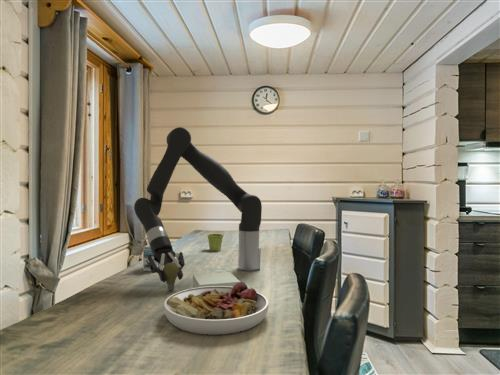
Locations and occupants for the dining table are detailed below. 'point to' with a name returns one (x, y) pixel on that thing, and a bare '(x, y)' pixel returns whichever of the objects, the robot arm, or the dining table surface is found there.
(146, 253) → the light bulb box
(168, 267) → the light bulb
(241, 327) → the bowl
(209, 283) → the block
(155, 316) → the dining table surface
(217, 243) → the plant pot
